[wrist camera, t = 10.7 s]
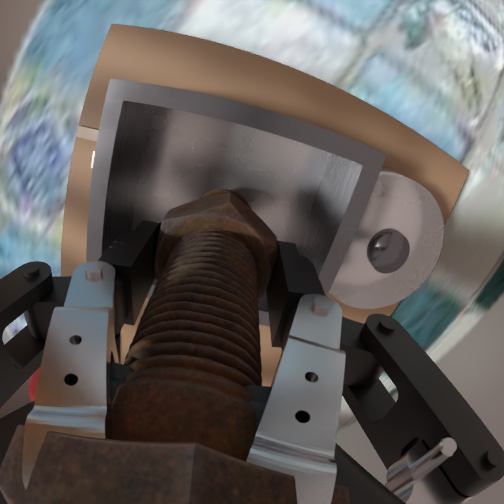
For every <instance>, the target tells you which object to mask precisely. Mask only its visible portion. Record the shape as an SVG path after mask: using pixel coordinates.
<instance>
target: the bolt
mask: <svg viewBox="0 0 504 504" xmlns="http://www.w3.org/2000/svg"><path fill="white" fill-rule="evenodd" d="M203 195H204V196H202V197H201V198H199V199H197V200H194V201H191V202H188V203H185V204H182V205H180V206H177V207H175V208H172V209H170V210H169V211H168V212H167V214H166V215H165V217H164V218H163V220H162V223H161V228H160V232H159V236H158V241H157V247H156V253H155V262H154V273H155V279H156V280H157V283H156V286H155V288H154V291H153V293H152V296H151V297H150V299H149V301H148V304H147V306H146V307H145V309H144V313H143V315H142V317H141V319H140V323H139V324H138V327H137V330H136V333H135V336H134V338H133V340H132V343H131V344H130V347H129V351H128V353H127V355H126V357H125V362H124V364H123V365H128V366H129V369H130V370H131V371H132V372H133V373H131V374H129V375H127V376H125V377H124V379H123V380H125V383H124V384H122V385H121V386H119V387H118V388H117V390H116V393H115V396H114V399H113V402H112V405H111V407H112V439H102V438H93V437H85V436H78V435H71V434H65V433H60V432H54V431H48V432H47V434H46V436H45V439H44V441H43V444H42V446H41V449H40V452H39V454H38V457H37V460H36V462H35V465H34V468H33V471H32V474H31V477H30V480H29V483H28V486H27V489H25V487H24V483H23V478H22V459H23V441H24V430H25V425H22V424H19V425H18V426H17V428H16V431H15V433H14V435H13V438H12V440H11V442H10V445H9V447H8V450H7V452H6V455H5V457H4V460H3V463H2V465H1V468H0V490H1V492H2V494H3V496H4V498H5V500H6V502H7V503H8V504H297V494H296V485H295V477H294V476H292V475H289V474H285V473H282V472H278V471H275V470H271V469H268V468H265V467H261V466H258V465H255V464H252V463H249V462H246V461H245V459H246V456H247V454H248V451H249V449H250V446H251V443H252V441H253V438H254V435H255V433H256V410H255V408H254V407H253V406H252V405H251V404H250V401H251V400H253V394H252V393H251V392H249V391H248V390H247V389H245V388H244V386H247V385H256V386H262V382H263V381H262V376H261V372H262V365H261V355H260V352H261V345H260V329H259V308H258V303H259V302H260V300H261V299H262V297H263V295H264V293H265V291H266V288H267V286H268V284H269V281H270V278H271V275H272V272H273V269H274V266H275V262H276V258H277V253H278V244H277V237H276V235H275V234H274V233H273V232H272V230H271V229H270V228H269V227H268V226H267V225H266V223H265V222H264V221H263V220H262V219H261V218H260V217H259V216H258V215H257V214H256V213H255V212H254V211H253V210H252V209H251V208H250V206H249V204H248V202H247V201H246V200H245V199H244V198H243V197H242V196H240V195H239V194H237V193H235V192H233V191H231V190H227V189H215V190H211V191H209V192H207V193H205V194H203ZM331 504H351V503H350V498H349V492H348V487H345V486H339V485H335V486H334V491H333V496H332V501H331Z"/></svg>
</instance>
